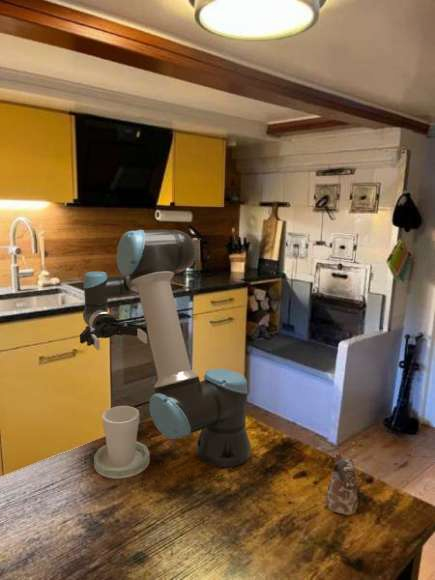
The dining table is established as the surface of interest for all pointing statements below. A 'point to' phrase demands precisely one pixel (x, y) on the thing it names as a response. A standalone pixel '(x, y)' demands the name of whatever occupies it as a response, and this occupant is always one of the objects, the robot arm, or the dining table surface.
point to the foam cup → (121, 433)
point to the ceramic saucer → (118, 472)
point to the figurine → (342, 487)
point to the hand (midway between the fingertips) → (122, 341)
